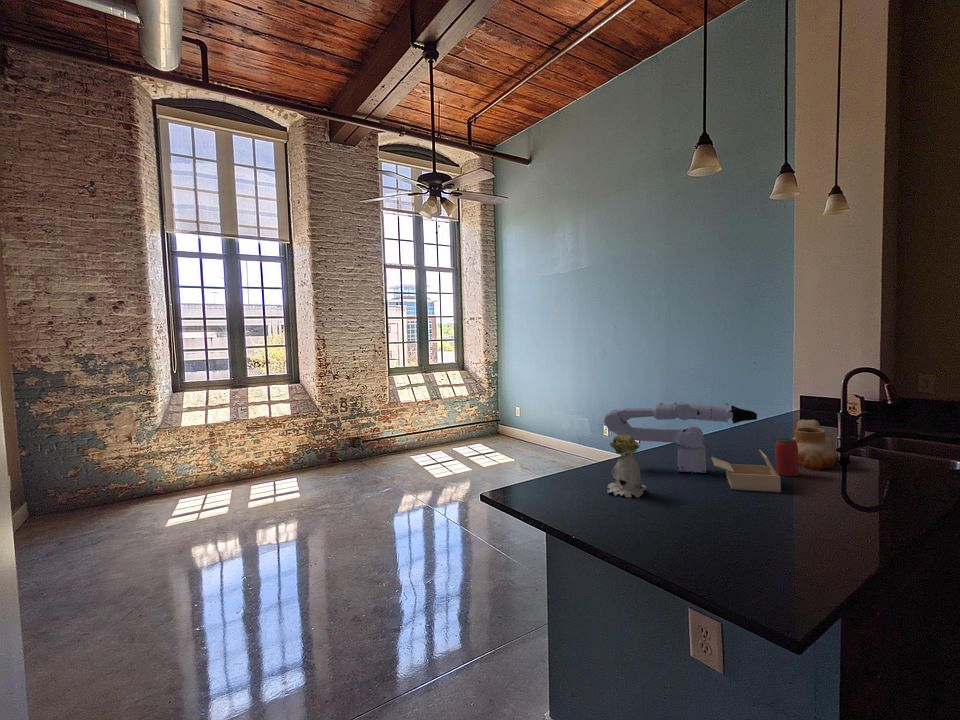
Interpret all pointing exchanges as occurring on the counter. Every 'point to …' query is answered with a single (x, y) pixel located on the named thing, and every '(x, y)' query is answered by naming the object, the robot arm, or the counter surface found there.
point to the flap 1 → (722, 464)
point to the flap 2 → (767, 461)
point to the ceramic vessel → (813, 445)
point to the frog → (626, 468)
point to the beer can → (786, 457)
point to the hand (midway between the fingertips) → (755, 415)
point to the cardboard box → (753, 478)
